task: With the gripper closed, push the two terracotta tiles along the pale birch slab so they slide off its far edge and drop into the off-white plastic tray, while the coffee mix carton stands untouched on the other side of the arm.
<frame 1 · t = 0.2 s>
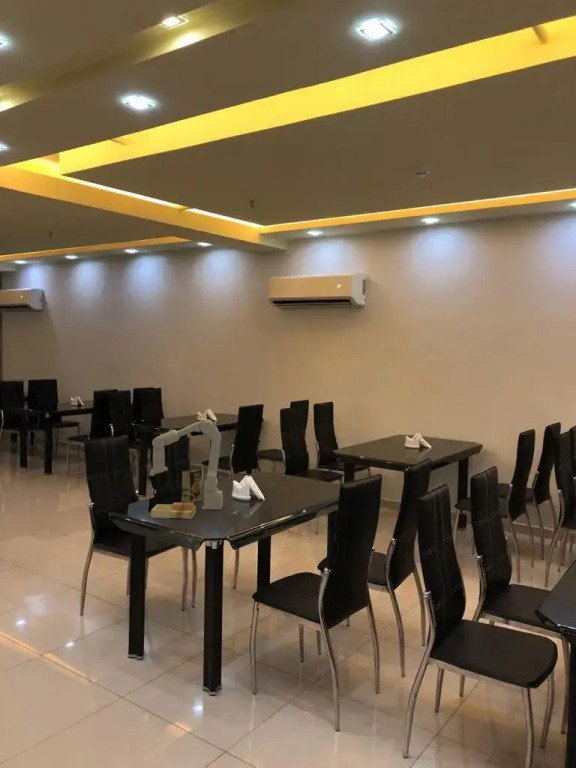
hand: (158, 487, 309), 10 cm above the table, tool pointing down, fingers open, 7 cm apart
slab: (183, 515, 295), on the table
tray: (163, 514, 295), on the table
tile 1: (177, 508, 295), point 3 cm above the table, touching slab
tile 2: (188, 509, 295), point 3 cm above the table, touching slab
coffee box: (191, 501, 325), on the table
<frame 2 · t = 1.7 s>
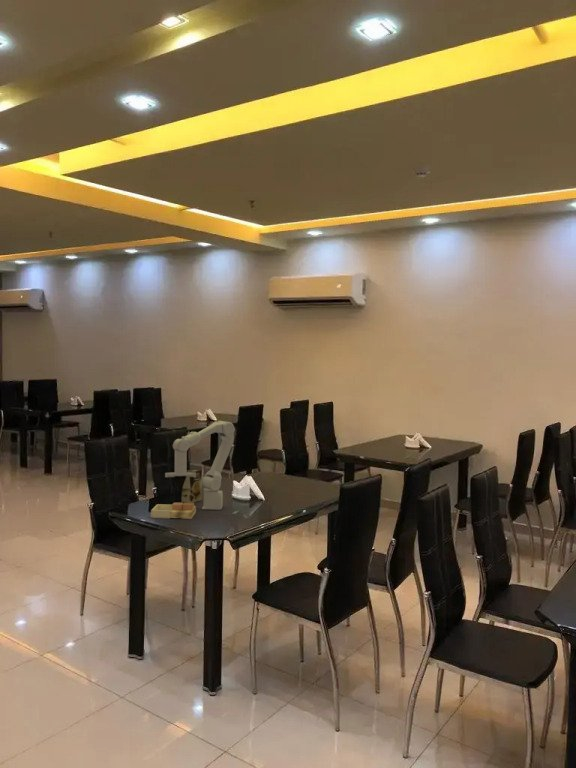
hand: (180, 491, 300), 10 cm above the table, tool pointing down, fingers closed
nothing on the table moved.
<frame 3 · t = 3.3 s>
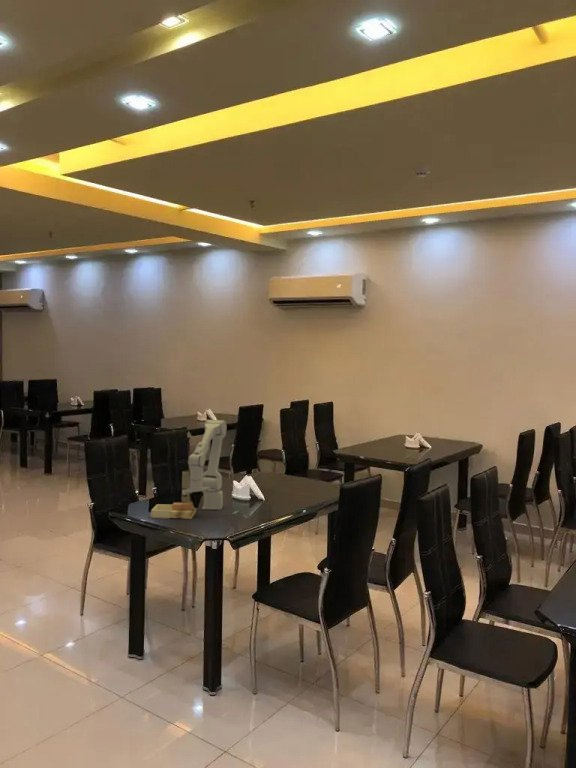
hand: (196, 507, 295), 4 cm above the table, tool pointing down, fingers closed
tile 2: (187, 509, 295), point 3 cm above the table, touching gripper
everything else where it was.
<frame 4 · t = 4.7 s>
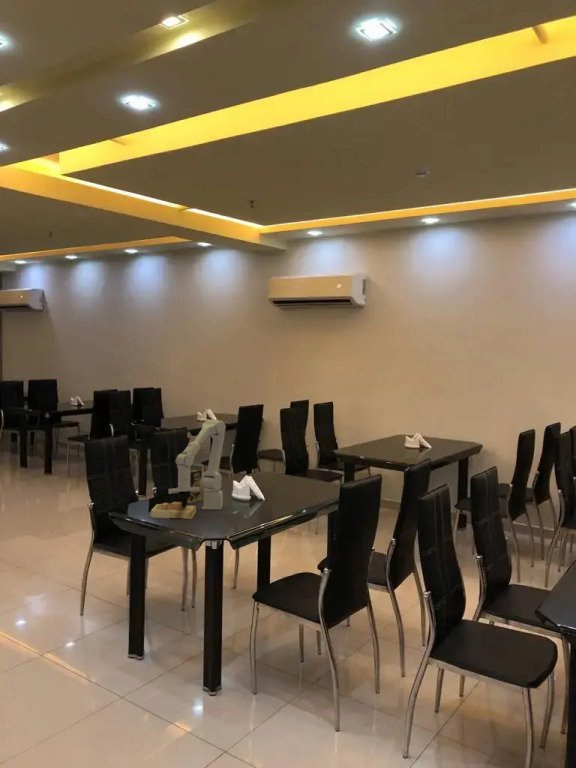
hand: (184, 507, 295), 4 cm above the table, tool pointing down, fingers closed
tile 1: (167, 508, 296), point 3 cm above the table, tilted 88°, touching tray
tile 2: (176, 508, 296), point 3 cm above the table, touching gripper
everything else where it was.
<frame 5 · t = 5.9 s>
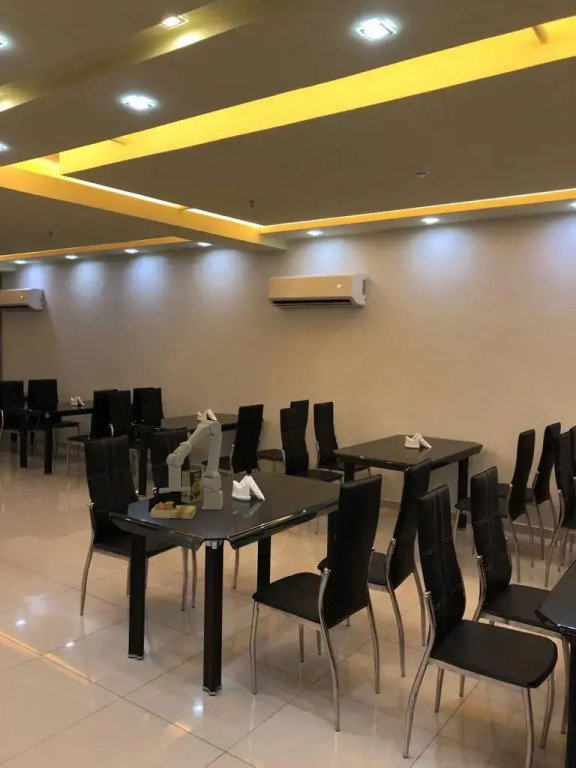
hand: (174, 507, 295), 4 cm above the table, tool pointing down, fingers closed, pressing on tile 2
tile 1: (162, 506, 296), point 4 cm above the table, tilted 130°, touching tile 2, tray
tile 2: (170, 507, 297), point 3 cm above the table, touching gripper, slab, tile 1
everything else where it was.
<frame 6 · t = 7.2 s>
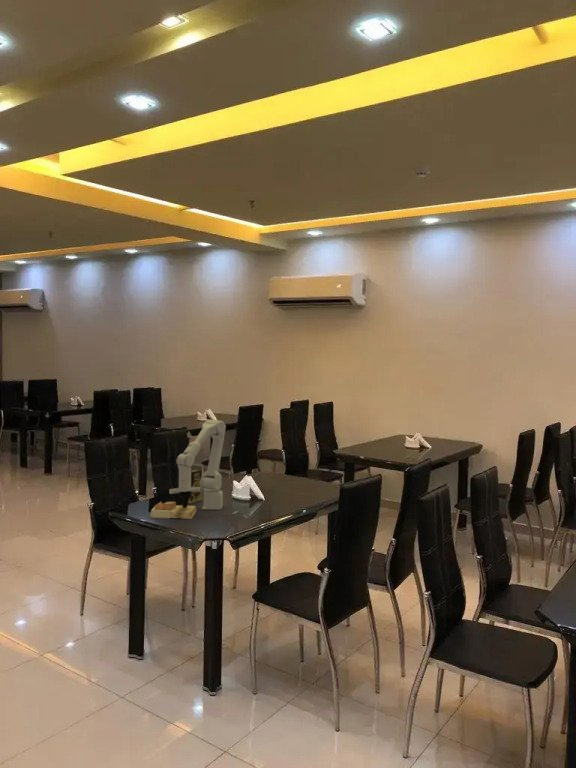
hand: (184, 507, 295), 4 cm above the table, tool pointing down, fingers closed
tile 1: (162, 506, 296), point 4 cm above the table, tilted 123°, touching tile 2, tray
tile 2: (169, 508, 297), point 3 cm above the table, touching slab, tile 1
everything else where it was.
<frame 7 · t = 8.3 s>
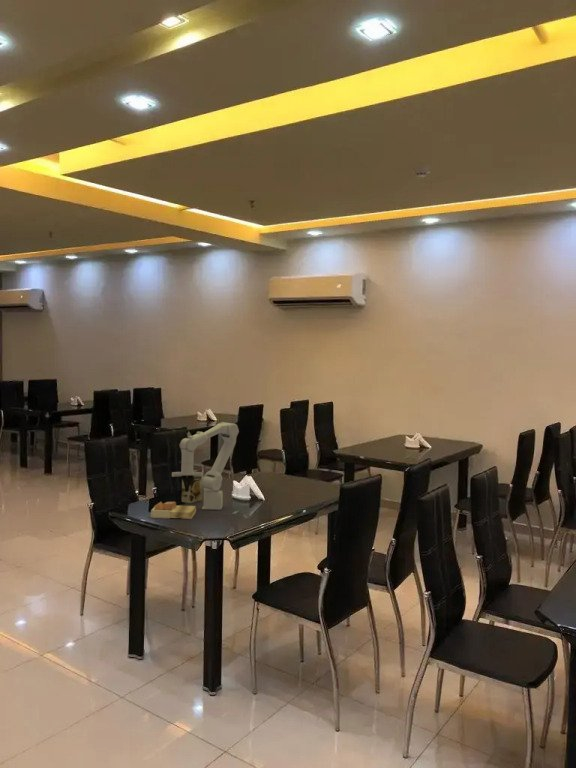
hand: (186, 491, 300), 10 cm above the table, tool pointing down, fingers closed
nothing on the table moved.
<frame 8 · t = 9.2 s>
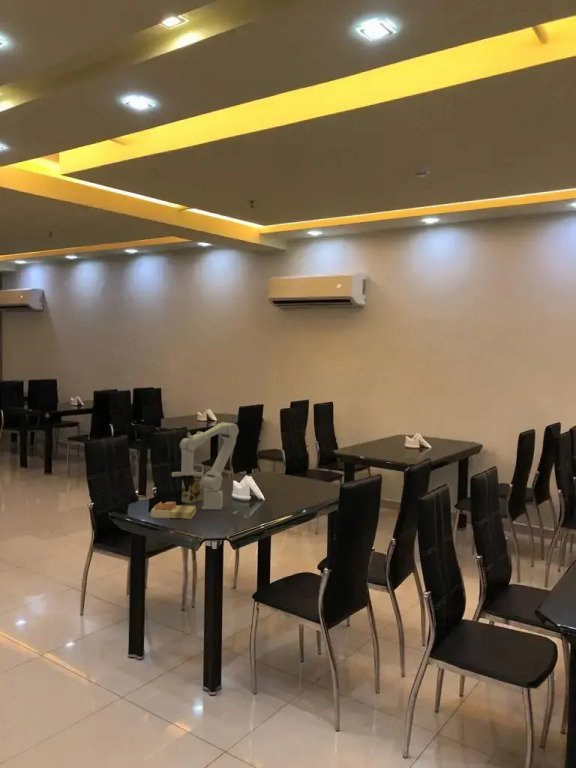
hand: (186, 491, 300), 10 cm above the table, tool pointing down, fingers closed
nothing on the table moved.
at the end: tile 1 inside the target area (1.1 cm from its centre), point 3.8 cm above the table; tile 2 inside the target area (3.8 cm from its centre), point 2.9 cm above the table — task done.
